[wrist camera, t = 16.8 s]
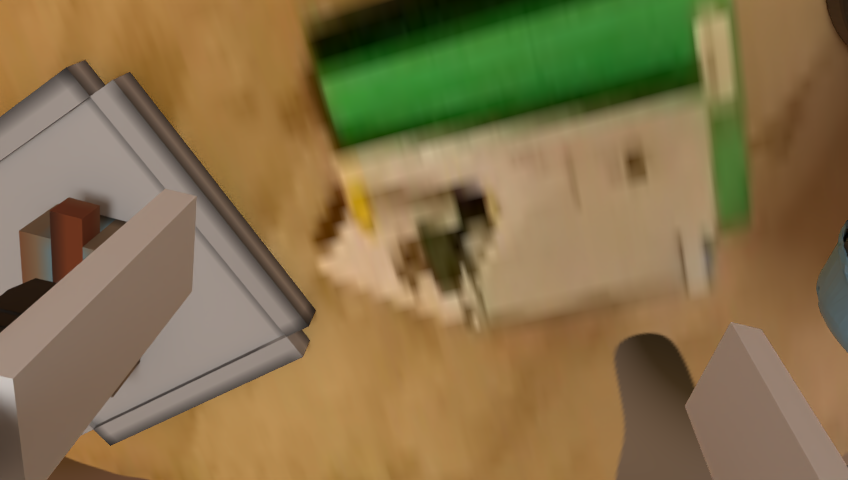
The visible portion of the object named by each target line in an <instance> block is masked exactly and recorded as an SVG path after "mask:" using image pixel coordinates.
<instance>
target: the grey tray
mask: <svg viewBox="0 0 848 480" xmlns="http://www.w3.org/2000/svg"><path fill="white" fill-rule="evenodd" d="M164 189H169V190H173V191H177V192H181V193H186V194H190V195H194V196H197V201H196V222H195V242H194V263H193V284H192V292H191V293H190V295H189V296H188V297H187V298H186V300H185V301H184V302H183V304H182V305H181V306H180V308H179V309H178V310H177V311H176V313H175V314H174V315H173V317H172V318H171V319H170V320H169V322H168V323H167V324H166V326H165V327H164V328H163V330H162V331H161V332H160V333H159V335H158V336H157V337H156V339H155V340H154V341H153V342H152V344H151V345H150V346H149V348H148V349H147V350H146V352H145V353H144V354H143V355H142V357H141V358H140V359H139V361H138V362H137V363H136V364H135V366H134V367H133V368H132V370H131V371H130V372H129V374H128V375H127V376H126V377H125V379H124V380H123V381H122V383H121V384H120V385H119V386H118V388H117V389H116V390H115V392H114V393H113V394H112V396H111V397H110V398H109V399H108V401H107V402H106V403H105V405H104V406H103V407H102V408H101V410H100V411H99V412H98V414H97V415H96V416H95V418H94V419H93V420H92V421H91V423H90V424H89V425H88V427H87V428H86V429H85V430H84V432H83V433H82V434H81V435H83V434H85V433H87V432H89V431H91V430H95V431H96V432H97V433H98V434H99V435H100V436H101V437H102V438H103V439H104V440H105V441H106V442H107V443H108V444H109V445H110V446H111V445H113V444H115V443H117V442H120V441H122V440H124V439H126V438H128V437H130V436H133V435H135V434H137V433H139V432H141V431H143V430H146V429H148V428H150V427H152V426H154V425H156V424H159V423H161V422H163V421H165V420H167V419H169V418H172V417H174V416H176V415H178V414H180V413H182V412H185V411H187V410H189V409H191V408H193V407H195V406H198V405H200V404H202V403H204V402H206V401H208V400H211V399H213V398H215V397H217V396H219V395H221V394H224V393H226V392H228V391H230V390H232V389H234V388H237V387H239V386H241V385H243V384H245V383H247V382H250V381H252V380H254V379H256V378H258V377H260V376H263V375H265V374H267V373H269V372H271V371H273V370H276V369H278V368H280V367H282V366H284V365H286V364H288V363H291V362H293V361H295V360H297V359H299V358H301V357H303V355H304V353H305V351H306V348H307V346H308V343H309V341H310V340H309V339H308V337H307V336H306V335H305V334H304V332H303V331H302V329H304V328H306V327H308V326H309V325H310V322H311V320H312V318H313V315H314V313H315V311H316V310H315V309H314V307H313V306H312V305H311V304H310V302H309V301H308V300H307V298H306V297H305V296H304V295H303V293H302V292H301V291H300V289H299V288H298V287H297V286H296V284H295V283H294V282H293V280H292V279H291V278H290V277H289V275H288V274H287V273H286V272H285V270H284V269H283V268H282V266H281V265H280V264H279V263H278V261H277V260H276V259H275V257H274V256H273V255H272V254H271V252H270V251H269V250H268V248H267V247H266V246H265V245H264V243H263V242H262V241H261V239H260V238H259V237H258V236H257V234H256V233H255V232H254V230H253V229H252V228H251V227H250V225H249V224H248V223H247V222H246V220H245V219H244V218H243V216H242V215H241V214H240V213H239V211H238V210H237V209H236V207H235V206H234V205H233V204H232V202H231V201H230V200H229V198H228V197H227V196H226V195H225V193H224V192H223V191H222V189H221V188H220V187H219V186H218V184H217V183H216V182H215V180H214V179H213V178H212V177H211V175H210V174H209V173H208V171H207V170H206V169H205V168H204V166H203V165H202V164H201V163H200V161H199V160H198V159H197V157H196V156H195V155H194V154H193V152H192V151H191V150H190V148H189V147H188V146H187V145H186V143H185V142H184V141H183V139H182V138H181V137H180V136H179V134H178V133H177V132H176V130H175V129H174V128H173V127H172V125H171V124H170V123H169V121H168V120H167V119H166V118H165V116H164V115H163V114H162V113H161V111H160V110H159V109H158V107H157V106H156V105H155V104H154V102H153V101H152V100H151V98H150V97H149V96H148V95H147V93H146V92H145V91H144V89H143V88H142V87H141V86H140V84H139V83H138V82H137V80H136V79H135V78H134V77H133V75H132V74H131V73H130V72H129V73H127V74H125V75H122V76H120V77H118V78H116V79H114V80H112V81H111V82H110V83H108V84H107V85H105V84H104V83H103V82H102V81H101V79H100V78H99V77H98V76H97V74H96V73H95V72H94V71H93V69H92V68H91V67H90V66H89V64H88V63H87V62H86V61H85V60H84V61H82V62H79V63H77V64H74V65H71V66H69V67H66V68H65V69H64V70H62V71H61V72H60V73H58V74H57V75H56V76H54V77H53V78H52V79H50V80H49V81H48V82H46V83H45V84H44V85H42V86H41V87H40V88H38V89H37V90H36V91H34V92H33V93H32V94H30V95H29V96H28V97H26V98H25V99H24V100H22V101H21V102H20V103H18V104H17V105H16V106H14V107H13V108H12V109H10V110H9V111H8V112H6V113H5V114H4V115H2V116H1V117H0V296H1V295H2V294H3V293H4V292H6V291H7V290H8V289H11V288H13V287H15V286H18V285H20V284H23V283H25V282H27V281H30V280H32V279H35V278H38V279H42V280H47V281H51V282H55V283H58V282H59V281H60V280H61V279H62V278H64V277H65V276H66V275H67V274H68V273H69V272H70V271H72V270H73V269H74V268H75V267H76V266H77V265H78V264H80V263H81V262H82V261H83V260H84V259H85V258H86V257H88V256H89V255H90V254H91V253H92V252H93V251H94V250H96V249H97V248H98V247H99V246H100V245H101V244H102V243H104V242H105V241H106V240H107V239H108V238H109V237H110V236H112V235H113V234H114V233H115V232H116V231H117V230H118V229H120V228H121V227H122V226H123V225H124V224H125V223H126V222H128V221H129V220H130V219H131V218H132V217H133V216H134V215H136V214H137V213H138V212H139V211H140V210H141V209H142V208H144V207H145V206H146V205H147V204H148V203H149V202H150V201H152V200H153V199H154V198H155V197H156V196H157V195H158V194H160V193H161V192H162V191H163V190H164Z"/></svg>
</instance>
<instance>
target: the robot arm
mask: <svg viewBox="0 0 848 480" xmlns="http://www.w3.org/2000/svg"><path fill="white" fill-rule="evenodd" d="M827 4H828V9H829V13H830V16H831V19H832V22H833V24H834V26H835V28H836V30H837V32H838V34H839V35H840V37H841V38H842V39H843V41H844V42H845V43H846V44H847V45H848V0H827ZM196 201H197V196H194V195H190V194H186V193H181V192H177V191H173V190H169V189H164V190H163V191H162V192H161V193H160V194H158V195H157V196H156V197H155V198H154V199H153V200H152V201H150V202H149V203H148V204H147V205H146V206H145V207H144V208H142V209H141V210H140V211H139V212H138V213H137V214H136V215H134V216H133V217H132V218H131V219H130V220H129V221H128V222H126V223H125V224H124V225H123V226H122V227H121V228H120V229H118V230H117V231H116V232H115V233H114V234H113V235H112V236H110V237H109V238H108V239H107V240H106V241H105V242H104V243H102V244H101V245H100V246H99V247H98V248H97V249H96V250H94V251H93V252H92V253H91V254H90V255H89V256H88V257H86V258H85V259H84V260H83V261H82V262H81V263H80V264H78V265H77V266H76V267H75V268H74V269H73V270H72V271H70V272H69V273H68V274H67V275H66V276H65V277H64V278H62V279H61V280H60V281H59V282H58V283H55V282H51V281H47V280H42V279H38V278H35V279H32V280H30V281H27V282H25V283H23V284H20V285H18V286H15V287H13V288H11V289H8V290H7V291H6V292H4V293H3V294H2V295H1V296H0V480H47V478H48V477H49V476H50V474H51V473H52V472H53V471H54V469H55V468H56V467H57V465H58V464H59V463H60V462H61V460H62V459H63V458H64V456H65V455H66V454H67V452H68V451H69V450H70V449H71V447H72V446H73V445H74V443H75V442H76V441H77V440H78V438H79V437H80V436H81V434H82V433H83V432H84V430H85V429H86V428H87V427H88V425H89V424H90V423H91V421H92V420H93V419H94V418H95V416H96V415H97V414H98V412H99V411H100V410H101V408H102V407H103V406H104V405H105V403H106V402H107V401H108V399H109V398H110V397H111V396H112V394H113V393H114V392H115V390H116V389H117V388H118V386H119V385H120V384H121V383H122V381H123V380H124V379H125V377H126V376H127V375H128V374H129V372H130V371H131V370H132V368H133V367H134V366H135V364H136V363H137V362H138V361H139V359H140V358H141V357H142V355H143V354H144V353H145V352H146V350H147V349H148V348H149V346H150V345H151V344H152V342H153V341H154V340H155V339H156V337H157V336H158V335H159V333H160V332H161V331H162V330H163V328H164V327H165V326H166V324H167V323H168V322H169V320H170V319H171V318H172V317H173V315H174V314H175V313H176V311H177V310H178V309H179V308H180V306H181V305H182V304H183V302H184V301H185V300H186V298H187V297H188V296H189V295H190V293H191V292H192V284H193V263H194V242H195V222H196ZM816 290H817V295H818V300H819V302H818V305H819V309H820V312H821V314H822V316H823V318H824V320H825V322H826V324H827V326H828V328H829V329H830V331H831V332H832V334H833V335H834V337H835V338H836V339H837V341H838V342H839V343H840V344H841V346H842V347H843V348H844V349H845V350H846V351H847V352H848V220H847V221H846V223H845V224H844V226H843V227H842V229H841V231H840V234H839V239H838V243H837V245H836V247H835V249H834V250H833V252H832V254H831V255H830V257H829V259H828V260H827V262H826V264H825V266H824V267H823V269H822V271H821V272H820V275H819V277H818V281H817V286H816ZM685 408H686V411H687V413H688V416H689V418H690V421H691V423H692V426H693V429H694V432H695V434H696V437H697V439H698V442H699V445H700V447H701V450H702V453H703V456H704V458H705V461H706V463H707V466H708V468H709V471H710V474H711V476H712V479H713V480H848V465H846V464H845V462H844V460H843V459H842V457H841V455H840V454H839V452H838V451H837V449H836V447H835V446H834V444H833V443H832V441H831V439H830V438H829V436H828V435H827V433H826V431H825V430H824V428H823V427H822V425H821V423H820V422H819V420H818V419H817V417H816V416H815V414H814V412H813V411H812V409H811V408H810V406H809V404H808V403H807V401H806V400H805V398H804V396H803V395H802V393H801V392H800V390H799V388H798V387H797V385H796V384H795V382H794V380H793V379H792V377H791V376H790V374H789V372H788V371H787V369H786V368H785V366H784V364H783V363H782V361H781V360H780V358H779V356H778V355H777V353H776V352H775V350H774V348H773V347H772V345H771V344H770V342H769V340H768V339H767V337H766V336H765V334H764V332H763V331H762V329H758V328H754V327H750V326H745V325H741V324H737V323H733V322H731V323H730V324H729V326H728V328H727V330H726V332H725V334H724V335H723V337H722V339H721V341H720V343H719V345H718V346H717V348H716V350H715V352H714V354H713V356H712V357H711V359H710V361H709V363H708V365H707V367H706V368H705V370H704V372H703V374H702V376H701V378H700V379H699V381H698V383H697V385H696V387H695V388H694V390H693V392H692V394H691V396H690V398H689V400H688V401H687V403H686V405H685Z"/></svg>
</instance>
